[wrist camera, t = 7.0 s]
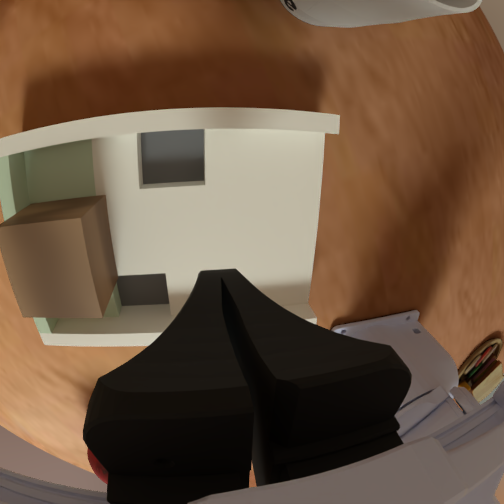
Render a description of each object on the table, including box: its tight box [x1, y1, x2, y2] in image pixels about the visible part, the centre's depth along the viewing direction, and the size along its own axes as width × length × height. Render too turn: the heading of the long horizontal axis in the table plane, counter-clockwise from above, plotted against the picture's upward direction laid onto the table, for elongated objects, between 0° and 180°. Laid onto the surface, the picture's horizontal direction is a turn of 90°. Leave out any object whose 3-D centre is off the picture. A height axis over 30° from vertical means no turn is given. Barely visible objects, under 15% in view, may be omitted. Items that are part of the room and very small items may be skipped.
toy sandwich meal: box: [458, 338, 504, 403], centre depth 34 cm, size 12×14×5 cm
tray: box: [0, 107, 340, 346], centre depth 16 cm, size 18×13×3 cm
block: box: [0, 195, 118, 318], centre depth 13 cm, size 5×5×4 cm
